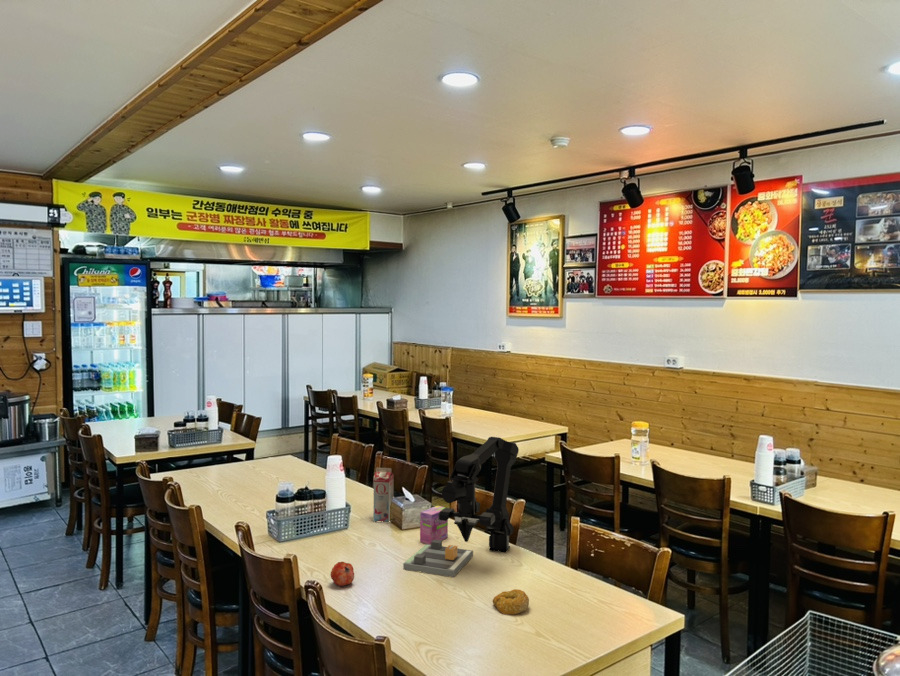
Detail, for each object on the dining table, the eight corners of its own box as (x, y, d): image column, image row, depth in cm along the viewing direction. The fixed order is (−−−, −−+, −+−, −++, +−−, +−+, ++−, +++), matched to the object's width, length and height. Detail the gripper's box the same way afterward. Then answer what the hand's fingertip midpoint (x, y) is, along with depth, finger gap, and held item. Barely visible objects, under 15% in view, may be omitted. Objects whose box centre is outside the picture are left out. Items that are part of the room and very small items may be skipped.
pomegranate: (327, 591, 203) (335, 581, 195) (326, 568, 207) (334, 557, 200) (350, 590, 206) (358, 580, 198) (348, 567, 210) (357, 556, 203)
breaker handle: (457, 556, 221) (457, 545, 221) (453, 560, 217) (453, 549, 217) (449, 554, 222) (449, 544, 222) (445, 558, 218) (445, 548, 218)
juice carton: (388, 522, 264) (389, 470, 263) (373, 521, 265) (373, 469, 264) (393, 518, 270) (393, 466, 269) (378, 517, 271) (378, 465, 271)
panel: (472, 556, 227) (472, 543, 227) (453, 577, 208) (453, 563, 208) (426, 549, 234) (426, 537, 233) (403, 569, 215) (403, 556, 215)
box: (431, 545, 237) (431, 514, 237) (419, 542, 241) (419, 511, 240) (448, 538, 246) (448, 507, 245) (436, 535, 249) (436, 505, 249)
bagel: (504, 596, 194) (504, 581, 194) (535, 607, 187) (535, 591, 187) (485, 609, 186) (485, 593, 186) (517, 620, 180) (517, 604, 179)
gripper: (499, 492, 221) (499, 537, 222) (449, 487, 228) (449, 530, 228) (490, 501, 211) (490, 548, 211) (437, 495, 217) (437, 541, 218)
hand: (466, 541), depth 217 cm, fingers closed
